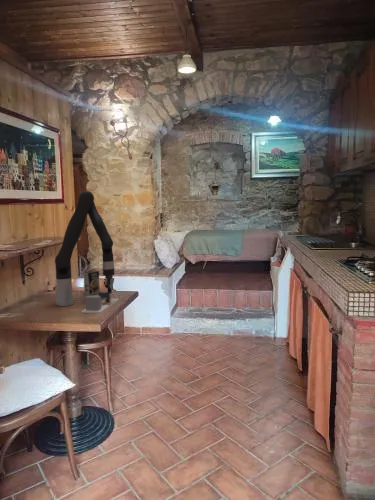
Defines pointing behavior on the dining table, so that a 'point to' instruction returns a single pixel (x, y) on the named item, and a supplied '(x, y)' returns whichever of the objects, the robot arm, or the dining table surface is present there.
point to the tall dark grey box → (104, 297)
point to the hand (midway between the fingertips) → (109, 293)
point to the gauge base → (96, 304)
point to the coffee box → (91, 282)
